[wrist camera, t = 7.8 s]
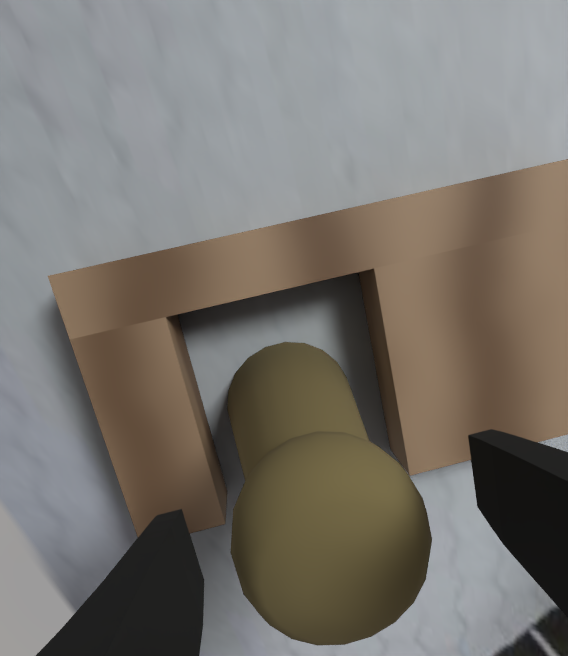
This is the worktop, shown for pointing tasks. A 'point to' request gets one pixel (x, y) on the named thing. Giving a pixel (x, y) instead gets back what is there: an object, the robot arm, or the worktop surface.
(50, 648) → the robot arm
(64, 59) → the worktop surface
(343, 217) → the notched board
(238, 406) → the cork
